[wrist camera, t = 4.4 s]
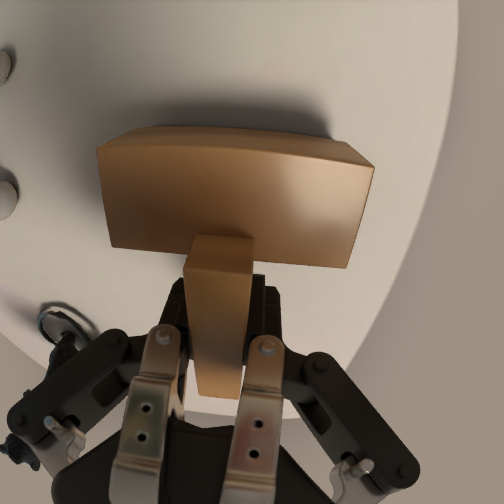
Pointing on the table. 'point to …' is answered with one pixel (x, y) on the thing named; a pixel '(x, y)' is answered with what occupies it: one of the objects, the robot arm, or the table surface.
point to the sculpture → (58, 357)
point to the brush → (231, 218)
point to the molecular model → (3, 193)
